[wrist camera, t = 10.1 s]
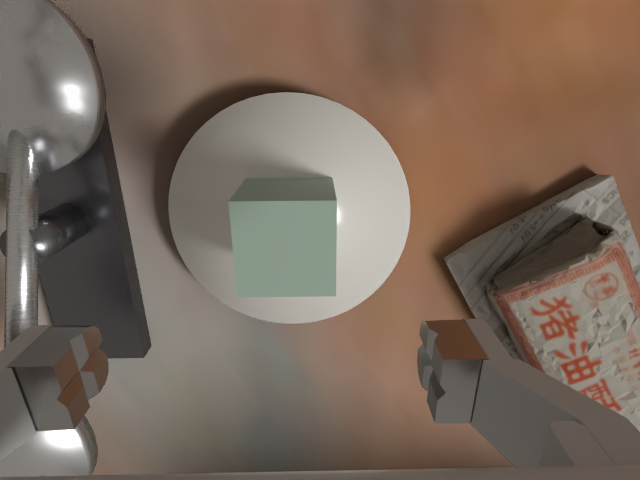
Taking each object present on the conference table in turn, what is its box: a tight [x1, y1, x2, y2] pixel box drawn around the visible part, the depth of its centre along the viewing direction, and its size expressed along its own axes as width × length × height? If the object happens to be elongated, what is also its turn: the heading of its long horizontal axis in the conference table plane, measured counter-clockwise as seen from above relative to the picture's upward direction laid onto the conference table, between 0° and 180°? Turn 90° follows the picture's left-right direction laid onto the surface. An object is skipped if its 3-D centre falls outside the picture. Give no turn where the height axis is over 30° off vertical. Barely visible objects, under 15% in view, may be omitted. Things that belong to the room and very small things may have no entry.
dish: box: [168, 92, 410, 324], centre depth 22 cm, size 13×13×2 cm
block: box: [228, 178, 337, 297], centre depth 19 cm, size 4×4×4 cm
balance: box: [0, 0, 151, 477], centre depth 18 cm, size 22×8×10 cm, turn 1°
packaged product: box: [444, 175, 640, 432], centre depth 24 cm, size 18×5×10 cm
